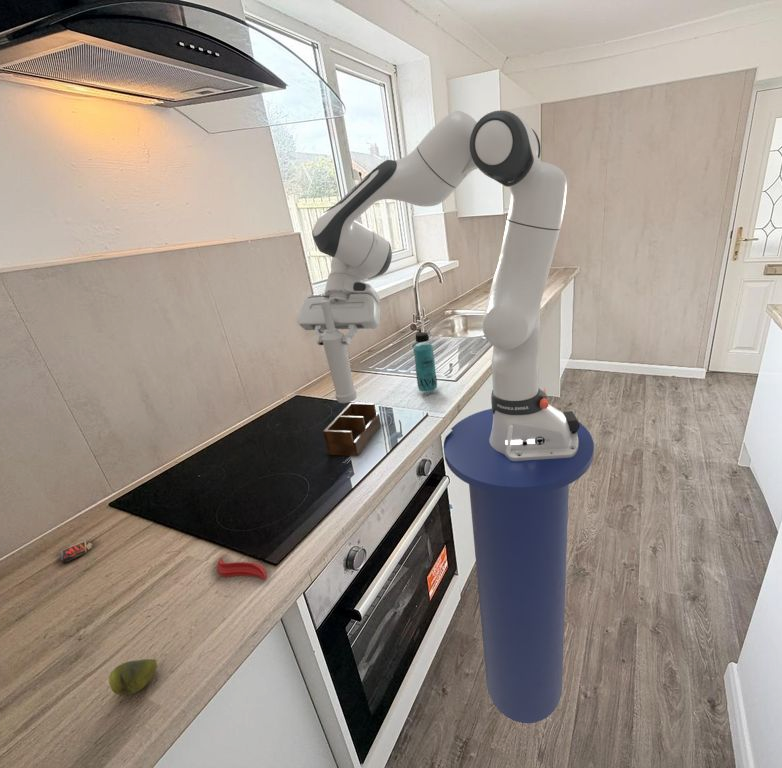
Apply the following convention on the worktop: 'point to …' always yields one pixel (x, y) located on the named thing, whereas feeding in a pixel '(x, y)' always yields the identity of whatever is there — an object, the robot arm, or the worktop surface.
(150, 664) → the olive green oval lump
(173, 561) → the worktop surface
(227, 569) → the cayenne pepper
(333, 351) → the bottle
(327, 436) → the box
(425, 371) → the beverage bottle
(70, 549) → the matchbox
